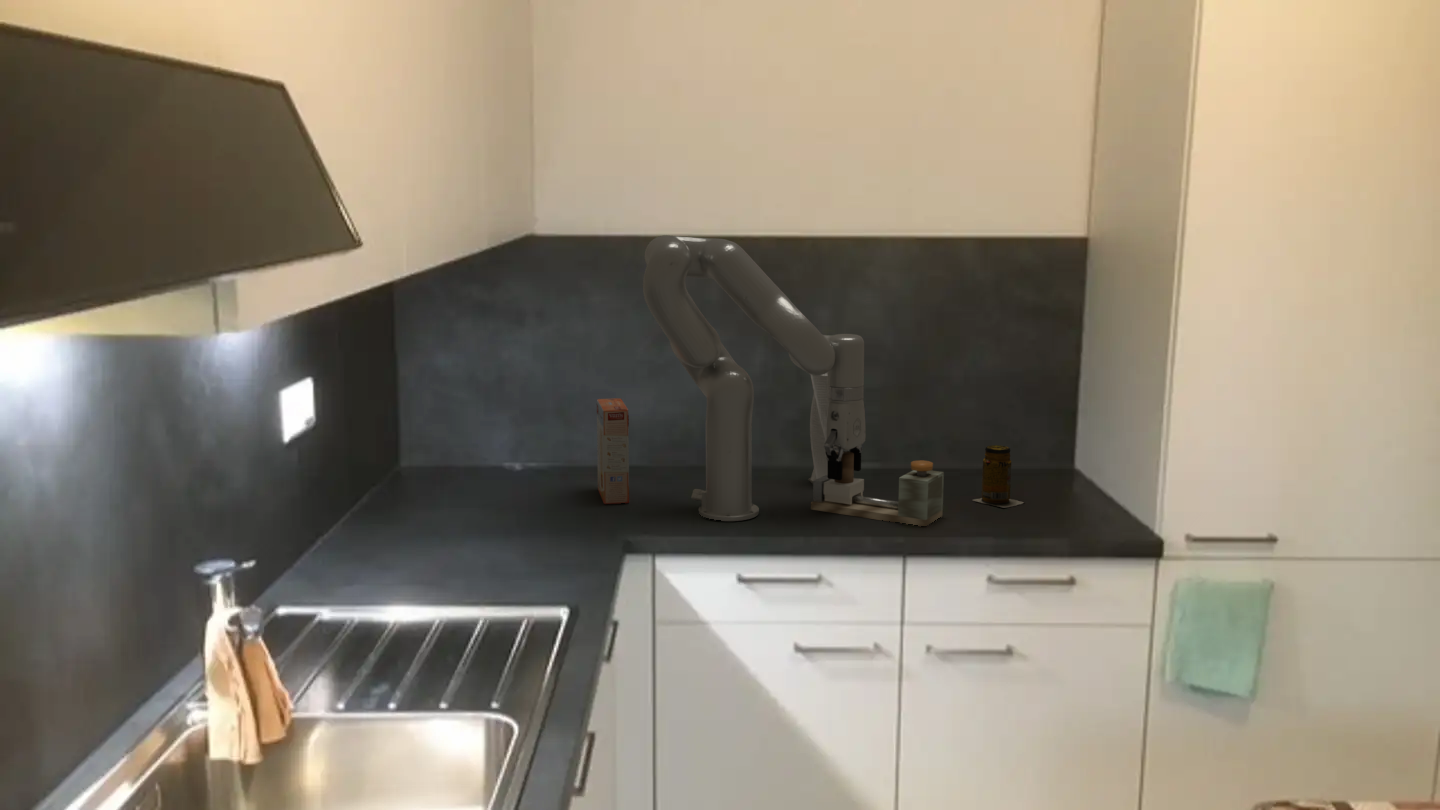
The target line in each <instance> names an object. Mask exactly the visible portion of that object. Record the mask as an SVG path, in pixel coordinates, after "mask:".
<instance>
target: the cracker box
mask: <svg viewBox="0 0 1440 810" xmlns="http://www.w3.org/2000/svg"><path fill="white" fill-rule="evenodd" d="M629 414H630V411H629V408H628V407H627V405H626V404H625V402H624V401H623V400H622V398H617V397H616V398H598V399H596V432H597V433H596V440H597V441H596V443H597V444H596V447H597V450H596V452H597V455H596V456H597V490H598V493H599V495H600V498H601V500H602V502H603V504H604V505H619V504H621V503H625V504H629V503H630V444H629V440H630V438H629V437H630V436H629V434H630V432H629V431H630V430H629V429H630V422H629V421H630V415H629Z"/></svg>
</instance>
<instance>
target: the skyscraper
mask: <svg viewBox="0 0 1440 810" xmlns="http://www.w3.org/2000/svg"><path fill="white" fill-rule="evenodd" d="M809 375H810V379H811V384H812V385H811V386H812V390H813V395H812V401H811V406H810V417H809V418H810V420H809V435H810V437H809V438H810V439H809V440H810V448H811V456H812V462H813V470H812V473H811V476H810V477H809V478H808V480H807V481H809V482H810V483H811V484H813V481H814V480H816V479H818V478H820V477H823V476H825V475H827V474H828V460H827V455H826V450H825V447H824V444H825V442H826V429H827V414H828V406H829V401H827V386H828V372H827V373H825V374H823V375H811V374H809ZM838 446H840V445H838ZM835 452H838V451H837V450H835Z"/></svg>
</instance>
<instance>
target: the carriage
mask: <svg viewBox="0 0 1440 810" xmlns="http://www.w3.org/2000/svg"><path fill="white" fill-rule="evenodd" d="M848 451H849V450H843V454H842V457H841V461H843V466H842V480H834V479H831V480H829V481H826V482H824V494H825V501H830V502H837V503H844V504H852V496H854V495H856V496H863V497H864V495H863V494H864V493H863V492H864V490H865V479H864V478H859V477H858V478H856V477H854V472H855V471H854V453H853V452H848ZM836 454H838V452H836Z"/></svg>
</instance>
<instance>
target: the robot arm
mask: <svg viewBox="0 0 1440 810" xmlns="http://www.w3.org/2000/svg"><path fill="white" fill-rule="evenodd" d="M644 260H645V264H646V267H645V271H644V274H643V281H642V287H643V288H642V290H643V297H644V301H645V303H646V305H647V308H648V310H649V311H650V313H651V315H652V316H653V318H654V320H655V321H656V323H657V324H658V325H659V327H660V328H661V330H662V332H663V333H664V334H665V336H666V338H667V339H668V340H669V344H670V348H671V350H672V352H673V353H674V356H675V357H676V358H677V360H678V361H679V362H680V363H681V366H682V367H683V368H684V369H685V371H686V372H687V373H688V375H689V376H690V378H691V379H692V380H693V382H694V384H696V386H697V387H698V388H699V390H700V392H702V394H703V395H704V396H705V398H706V413H705V414H706V415H705V490H703V489H699V488H694V489H693V490H692V494H691V496H690V497H691V498H690V499H691V500H692V501H700V503H701V505H700V506H699V507H698V515H699V514H700V515H701V517H702V516H703V517H702V518H704V517H706V518H709V519H708V520H710V519H714V520H713V521H716V520H721V521H720V522H740V521H747V520H750V519H753V518H755V517H757V516H758V515H759V514H760V508H759V506H758V505H756V504H754V503H753V502H752V496H753V495H752V491H753V490H752V488H753V487H752V483H753V482H752V481H753V480H752V476H753V475H752V469H753V468H752V465H753V463H752V459H753V458H752V457H753V456H752V451H753V450H752V445H753V444H752V443H753V442H752V431H753V430H752V429H753V428H752V424H753V409H754V401H755V399H754V398H755V391H754V390H755V389H754V384H753V381H752V379H751V376H750V375H749V374H748V372H747V371H746V370H745V368H743V367H742V366H740V365H738V364H737V362H736V361H735V360H734V358H733V357H732V356H731V354H730V353H729V351H728V350H727V349H726V347H725V346H724V344H723V343H722V341H721V337H720V335H719V333H718V332H717V330H716V329H715V327H714V326H712V325H711V324H710V322H709V321H708V320H707V319H706V317H705V316H704V314H703V313H702V312H701V310H700V309H699V307H698V306H697V304H696V303H695V301H694V299H693V297H692V296H691V294H690V293H689V292H688V289H687V285H686V278H690V279H691V278H692V279H713V281H715V283H716V284H717V285H718V286H719V287H720V288H721V289H722V290H723V291H724V292H725V293H726V294H727V295H728V296H729V298H731V300H732V301H733V302H734V303H735V304H736V305H737V306H738V307H739V308H740V309H741V311H742V312H744V314H745V315H746V316H747V317H748V318H749V319H750V320H751V321H752V322H753V323H754V324H755V325H757V326H758V327H759V328H761V329H762V330H763V331H765V332H766V333H768V334H769V335H770V336H771V337H772V338H773V339H774V340H775V341H777V342H778V344H779V345H781V347H783V349H785V350H786V351H787V353H788V356H789V359H790V361H791V362H792V363H793V364H794V365H795V366H796V367H797V368H799V369H801V370H802V371H804V372H806V374H809V375H810V374H811V375H823V374H825V373H827V372H828V386H827V401H829V406H828V414H827V429H826V442H825V444H824V447H825V450H826V455H827V460H828V476H827V477H828V479H834V480H842V466H843V461H841V457H842V454H843V451H848V452H853V453H854V472H855V471H856V472H861V470H862V452H863V446H862V445H863V444H864V443H865V441H866V439H867V438H866V436H867V434H866V433H867V432H866V428H867V427H866V412H865V405H864V404H865V403H864V388H865V387H864V386H865V385H864V383H865V381H864V380H865V378H864V376H865V341H864V339H863V337H862V336H861V335H859V334H854V333H838V334H837V333H836V334H833V335H828V334H822V332H821V331H819V329H818V328H817V327H816V326H815V325H814V324H813V323H812V322H811V321H810V320H809V318H807V317H806V316H805V315H804V314H803V313H802V312H801V310H800V309H798V307H797V306H796V305H795V304H794V303H793V302H792V301H791V299H790V298H789V297H788V296H787V295H786V294H785V293H784V291H782V289H780V287H778V285H777V284H775V282H774V281H773V280H772V279H771V278H770V277H769V276H768V275H767V274H766V273H765V271H763V269H762V268H761V267H760V265H758V264H757V263H756V261H754V259H752V257H751V256H750V255H749V254H748V253H747V252H746V251H745V250H744V248H742V246H740V245H739V244H738V243H736V242H735V241H731V240H728V239H724V238H715V237H713V238H710V237H709V238H707V237H694V236H681V235H679V236H678V235H669V234H668V235H667V234H666V235H665V234H664V235H660V236H656V237H654V239H652V240H651V241H650V242H649V243H648V245H647V246H646V248H645V252H644ZM811 375H810V376H811ZM838 445H839V446H838ZM835 450H837V451H838V454H836V452H835ZM700 515H699V516H700ZM706 518H705V519H706Z"/></svg>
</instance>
